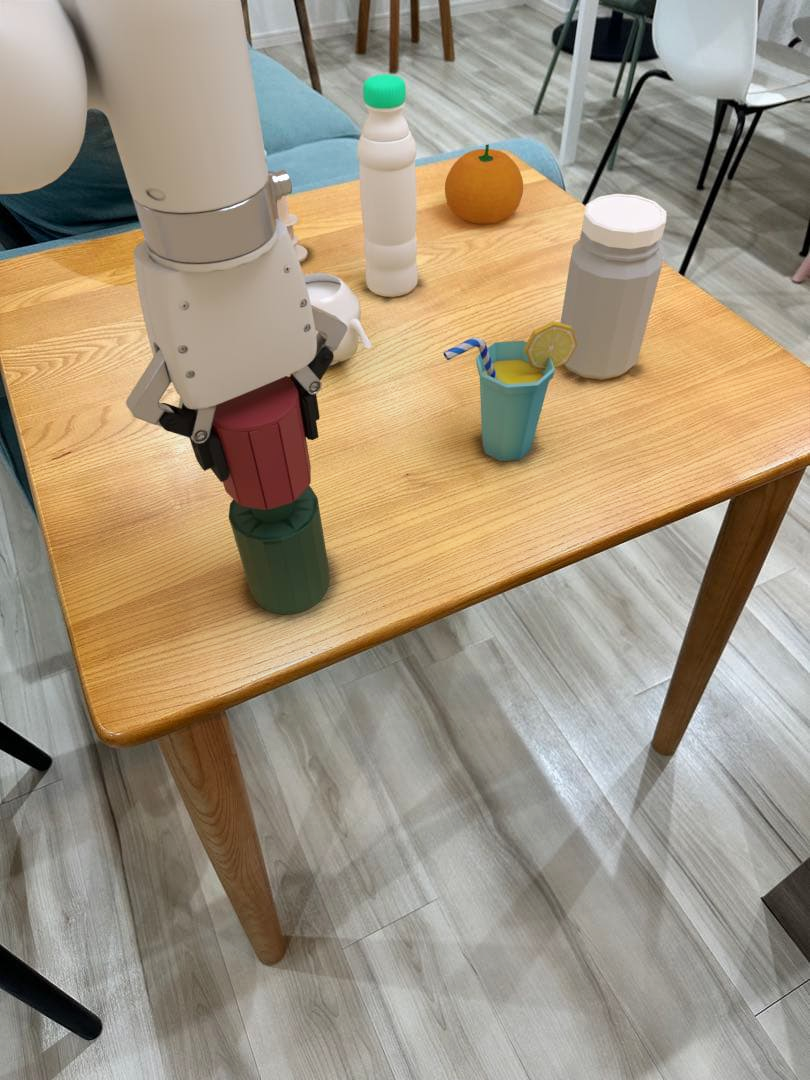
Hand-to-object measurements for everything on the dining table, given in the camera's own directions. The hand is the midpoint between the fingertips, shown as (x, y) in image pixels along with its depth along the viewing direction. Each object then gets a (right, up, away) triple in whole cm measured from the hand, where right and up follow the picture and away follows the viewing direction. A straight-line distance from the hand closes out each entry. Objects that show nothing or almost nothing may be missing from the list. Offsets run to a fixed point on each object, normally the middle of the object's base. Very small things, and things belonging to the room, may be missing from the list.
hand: (261, 448), depth 56 cm
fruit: (+23, +43, +59) cm, 76 cm away
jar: (+34, +15, +34) cm, 50 cm away
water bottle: (+9, +28, +46) cm, 54 cm away
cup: (+21, +3, +24) cm, 32 cm away
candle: (-6, +34, +51) cm, 62 cm away
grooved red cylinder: (0, -2, +2) cm, 3 cm away
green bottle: (0, -11, +12) cm, 16 cm away
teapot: (+1, +16, +35) cm, 39 cm away
